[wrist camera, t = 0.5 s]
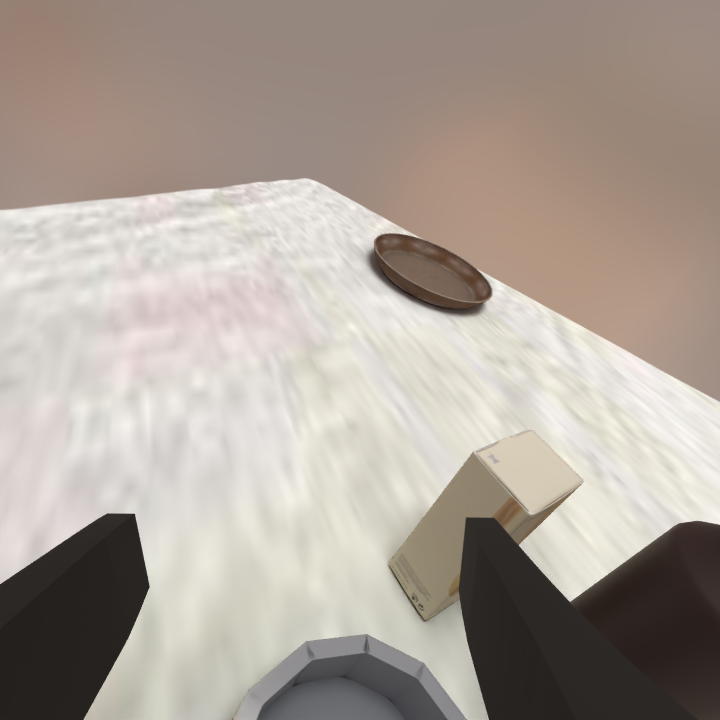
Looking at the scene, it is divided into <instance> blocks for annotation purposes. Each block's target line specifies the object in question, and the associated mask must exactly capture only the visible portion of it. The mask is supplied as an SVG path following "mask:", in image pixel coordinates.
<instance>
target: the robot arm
mask: <svg viewBox="0 0 720 720" xmlns="http://www.w3.org/2000/svg"><path fill="white" fill-rule="evenodd" d="M149 587H150V586H149V581H148V576H147V571H146V566H145V562H144V557H143V552H142V547H141V542H140V537H139V532H138V527H137V522H136V517H135V514H106V515H104V516H102V517H101V518H99V519H97V520H96V521H94V522H92V523H91V524H89V525H88V526H86V527H85V528H83V529H82V530H80V531H79V532H77V533H76V534H74V535H73V536H71V537H70V538H68V539H67V540H65V541H64V542H62V543H61V544H59V545H58V546H56V547H55V548H53V549H52V550H51V551H49V552H48V553H46V554H45V555H43V556H42V557H40V558H39V559H37V560H36V561H34V562H33V563H31V564H30V565H28V566H27V567H25V568H24V569H22V570H21V571H19V572H18V573H16V574H15V575H13V576H12V577H10V578H9V579H7V580H6V581H4V582H3V583H1V584H0V720H83V719H84V717H85V716H86V714H87V712H88V710H89V708H90V707H91V705H92V703H93V701H94V699H95V698H96V696H97V694H98V692H99V690H100V689H101V687H102V685H103V683H104V682H105V680H106V678H107V676H108V674H109V672H110V671H111V669H112V667H113V665H114V663H115V661H116V660H117V658H118V656H119V654H120V652H121V651H122V649H123V647H124V645H125V643H126V641H127V639H128V637H129V635H130V633H131V631H132V628H133V626H134V624H135V621H136V619H137V617H138V614H139V612H140V610H141V607H142V605H143V602H144V599H145V597H146V594H147V592H148V589H149ZM459 596H460V602H461V608H462V614H463V620H464V626H465V631H466V637H467V642H468V646H469V649H470V653H471V657H472V660H473V664H474V667H475V671H476V675H477V678H478V682H479V685H480V689H481V692H482V696H483V700H484V703H485V707H486V710H487V714H488V717H489V720H698V719H697V718H695V717H694V716H693V715H692V714H690V713H689V712H688V711H687V710H686V709H684V708H683V707H682V706H681V705H680V704H678V703H677V702H676V701H675V700H674V699H673V698H671V697H670V696H669V695H668V694H667V693H666V692H665V691H663V690H662V689H661V688H660V687H659V686H658V685H657V684H655V683H654V682H653V681H652V680H651V679H650V678H648V677H647V676H646V675H645V674H644V673H643V672H642V671H640V670H639V669H638V668H637V667H636V666H635V665H634V664H633V663H631V662H630V661H629V660H628V659H627V658H626V657H625V656H624V655H623V654H622V653H621V652H619V651H618V650H617V649H616V648H615V647H614V646H613V645H612V644H611V643H610V642H609V641H608V640H607V639H606V638H605V637H604V636H603V635H602V634H601V633H600V632H599V631H598V630H597V629H596V628H595V627H594V626H593V625H592V624H591V623H590V622H589V621H588V620H587V619H586V618H585V617H584V616H583V615H582V614H581V613H580V612H579V611H578V610H577V609H576V608H575V607H574V606H573V605H572V604H571V603H570V602H569V601H568V600H567V599H566V597H565V596H564V595H563V594H562V593H561V592H560V591H559V590H558V589H557V588H556V587H555V586H554V585H553V584H552V583H551V581H550V580H549V579H548V578H547V577H546V576H545V575H544V574H543V573H542V572H541V570H540V569H539V568H538V567H537V566H536V565H535V564H534V563H533V561H532V560H531V559H530V558H529V557H528V556H527V555H526V553H525V552H524V551H523V550H522V549H521V548H520V547H519V545H518V544H517V543H516V542H515V541H514V540H513V538H512V537H511V536H510V535H509V534H508V533H507V531H506V530H505V529H504V528H503V527H502V526H501V524H500V523H499V522H498V521H497V520H496V519H495V518H480V517H466V521H465V531H464V541H463V551H462V561H461V571H460V581H459Z"/></svg>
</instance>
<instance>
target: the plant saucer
mask: <svg viewBox="0 0 720 720" xmlns="http://www.w3.org/2000/svg"><path fill="white" fill-rule="evenodd" d="M374 249H375V254H376V257H377V260H378V263H379V265H380V267H381V268H382V270H383V272H384V273H385V274H386V276H387V277H388V278H389V279H390V280H391V281H392V282H393V283H395V284H396V285H397V286H398V287H400V288H401V289H402V290H404V291H405V292H407V293H409V294H411V295H412V296H414V297H416V298H418V299H420V300H423V301H425V302H428V303H430V304H433V305H436V306H440V307H444V308H450V309H464V308H470V307H474V306H477V305H480V304H482V303H484V302H486V301H487V300H489V299H490V298H491V296H492V288H491V286H490V284H489V282H488V281H487V279H486V278H485V277H484V276H483V275H482V274H481V273H480V272H479V271H478V270H477V269H476V268H475V267H473V266H472V265H471V264H469V263H468V262H467V261H465V260H464V259H462V258H460V257H459V256H457V255H455V254H454V253H452V252H450V251H448V250H446V249H444V248H442V247H440V246H438V245H436V244H433V243H431V242H428V241H425V240H423V239H419V238H416V237H413V236H408V235H403V234H395V233H389V234H382V235H380V236H378V237H377V238H376V239H375V241H374Z"/></svg>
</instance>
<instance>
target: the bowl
mask: <svg viewBox="0 0 720 720" xmlns="http://www.w3.org/2000/svg"><path fill="white" fill-rule="evenodd" d="M232 720H467V719H466V718H465V717H464V715H463V714H462V713H461V711H460V710H459V709H458V707H457V706H456V705H455V704H454V702H453V701H452V700H451V698H450V697H449V696H448V694H447V693H446V692H445V690H444V689H443V688H442V686H441V685H440V684H439V682H438V681H437V680H436V678H435V677H434V676H433V674H432V673H431V672H430V671H429V669H428V668H427V667H426V665H425V664H424V663H422V662H421V661H419V660H417V659H415V658H413V657H411V656H409V655H407V654H405V653H403V652H401V651H399V650H397V649H395V648H393V647H391V646H389V645H387V644H385V643H383V642H381V641H379V640H377V639H375V638H373V637H371V636H369V635H367V634H364V635H356V636H347V637H339V638H331V639H322V640H314V641H306V642H305V643H304V644H303V645H301V646H300V647H299V648H298V649H297V650H295V651H294V652H293V653H292V654H291V655H290V656H288V657H287V658H286V659H285V660H284V661H282V662H281V663H280V664H279V665H278V666H277V667H275V668H274V669H273V670H272V671H271V672H269V673H268V674H267V675H266V676H265V677H264V678H262V679H261V680H260V681H259V682H258V683H256V684H255V685H254V686H253V687H252V688H251V689H249V690H248V692H247V694H246V696H245V697H244V699H243V701H242V703H241V704H240V706H239V708H238V710H237V711H236V713H235V715H234V717H233V719H232Z"/></svg>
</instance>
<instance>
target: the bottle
mask: <svg viewBox="0 0 720 720" xmlns="http://www.w3.org/2000/svg"><path fill="white" fill-rule="evenodd" d="M570 603H571V604H572V605H573V606H574V607H575V608H576V609H577V610H578V611H579V612H580V613H581V614H582V615H583V616H584V617H585V618H586V619H587V620H588V621H589V622H590V623H591V624H592V625H593V626H594V627H595V628H596V629H597V630H598V631H599V632H600V633H601V634H602V635H603V636H604V637H605V638H606V639H607V640H608V641H609V642H610V643H611V644H612V645H613V646H614V647H615V648H616V649H617V650H618V651H619V652H621V653H622V654H623V655H624V656H625V657H626V658H627V659H628V660H629V661H630V662H631V663H633V664H634V665H635V666H636V667H637V668H638V669H639V670H640V671H642V672H643V673H644V674H645V675H646V676H647V677H648V678H650V679H651V680H652V681H653V682H654V683H655V684H657V685H658V686H659V687H660V688H661V689H662V690H663V691H665V692H666V693H667V694H668V695H669V696H670V697H671V698H673V699H674V700H675V701H676V702H677V703H678V704H680V705H681V706H682V707H683V708H684V709H686V710H687V711H688V712H689V713H690V714H692V715H693V716H694V717H695V718H697V719H698V720H720V525H718V524H713V523H707V522H702V521H693V522H686V523H680V524H677V525H675V526H674V527H673V528H671V529H670V530H668V531H667V532H666V533H664V534H663V535H662V536H660V537H659V538H657V539H656V540H655V541H653V542H652V543H651V544H649V545H648V546H646V547H645V548H644V549H642V550H641V551H640V552H638V553H637V554H635V555H634V556H633V557H631V558H630V559H629V560H627V561H626V562H624V563H623V564H622V565H620V566H619V567H618V568H616V569H615V570H614V571H612V572H611V573H609V574H608V575H607V576H605V577H604V578H603V579H601V580H600V581H598V582H597V583H596V584H594V585H593V586H592V587H590V588H589V589H587V590H586V591H585V592H583V593H582V594H581V595H579V596H578V597H576V598H575V599H574V600H572V601H571V602H570Z"/></svg>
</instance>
